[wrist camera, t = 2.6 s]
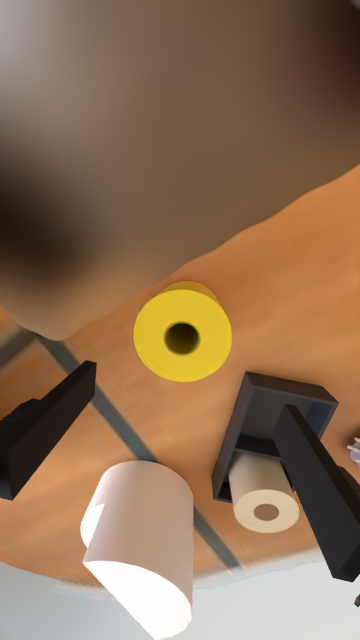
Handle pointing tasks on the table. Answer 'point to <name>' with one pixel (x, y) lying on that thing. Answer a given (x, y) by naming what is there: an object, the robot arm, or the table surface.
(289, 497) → the paper roll
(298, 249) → the table surface
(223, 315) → the tape roll
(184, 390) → the table surface
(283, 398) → the rack
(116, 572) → the white notched cylinder
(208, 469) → the table surface
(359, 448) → the charger
